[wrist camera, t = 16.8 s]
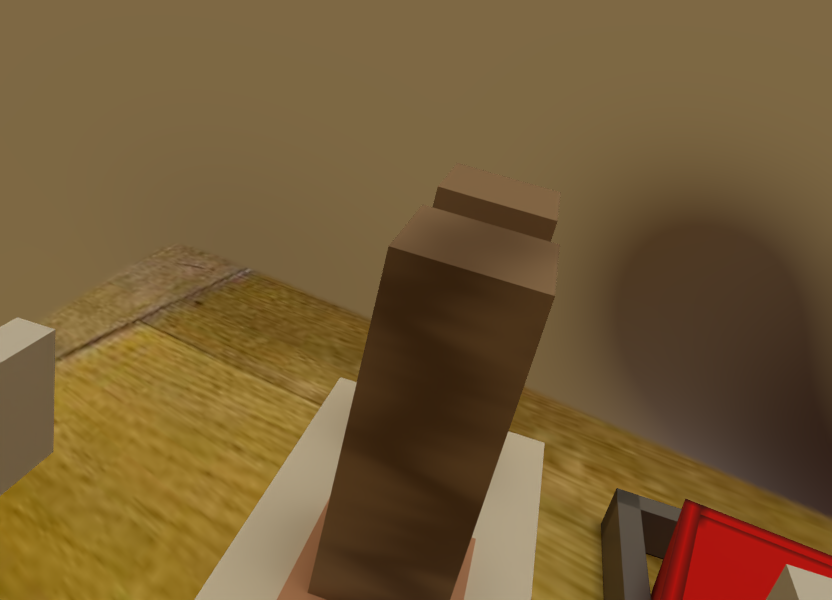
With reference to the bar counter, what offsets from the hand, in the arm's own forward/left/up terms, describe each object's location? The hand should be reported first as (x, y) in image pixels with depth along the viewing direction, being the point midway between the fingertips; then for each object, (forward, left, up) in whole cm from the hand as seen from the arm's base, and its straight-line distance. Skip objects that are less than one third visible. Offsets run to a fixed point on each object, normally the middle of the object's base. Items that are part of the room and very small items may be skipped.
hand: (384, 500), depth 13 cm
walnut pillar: (0, -12, -13) cm, 18 cm away
